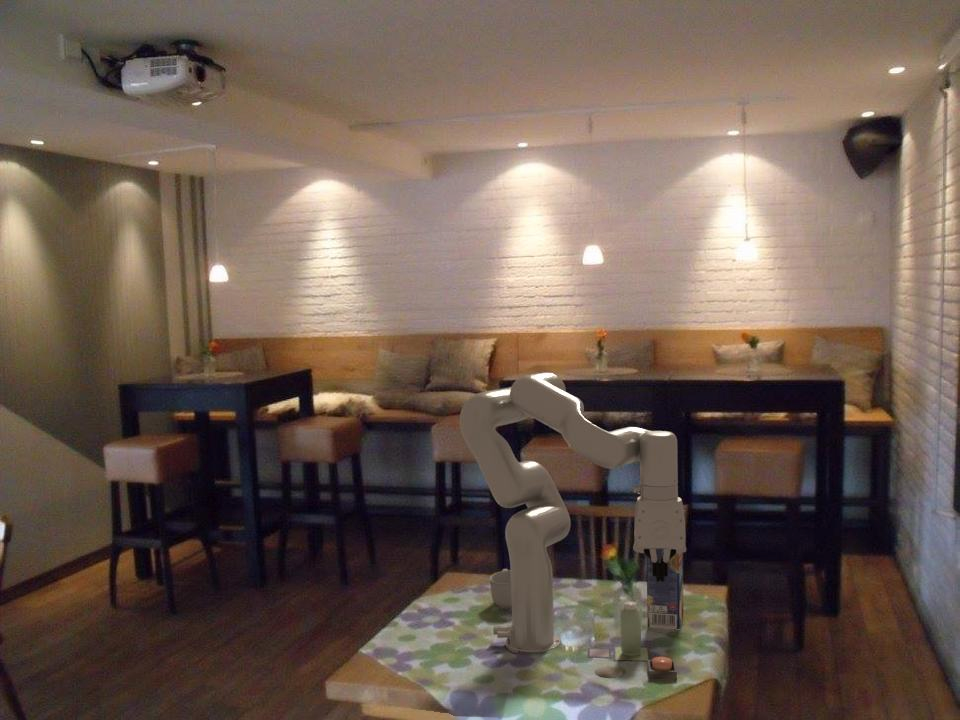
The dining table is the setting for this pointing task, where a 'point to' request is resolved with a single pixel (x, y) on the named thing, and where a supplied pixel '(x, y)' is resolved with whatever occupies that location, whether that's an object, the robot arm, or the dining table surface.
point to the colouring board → (644, 656)
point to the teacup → (501, 588)
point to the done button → (662, 664)
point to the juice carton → (665, 594)
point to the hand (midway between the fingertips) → (660, 579)
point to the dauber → (630, 629)
